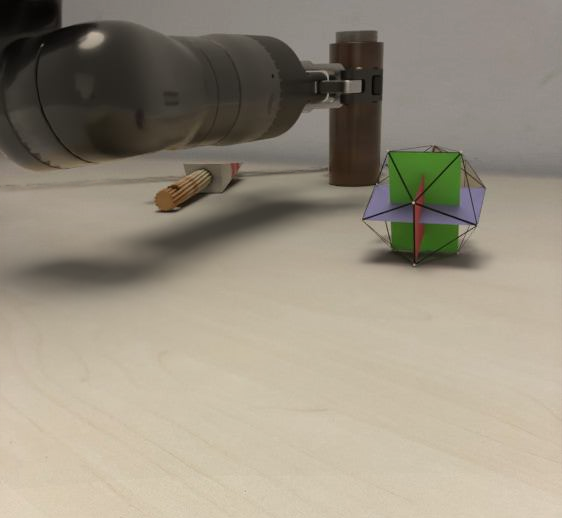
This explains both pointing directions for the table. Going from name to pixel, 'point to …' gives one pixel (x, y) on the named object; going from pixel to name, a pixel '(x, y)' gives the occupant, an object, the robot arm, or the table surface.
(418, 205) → the geometric puzzle
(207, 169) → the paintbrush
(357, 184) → the pepper mill
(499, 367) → the table surface
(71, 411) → the table surface
